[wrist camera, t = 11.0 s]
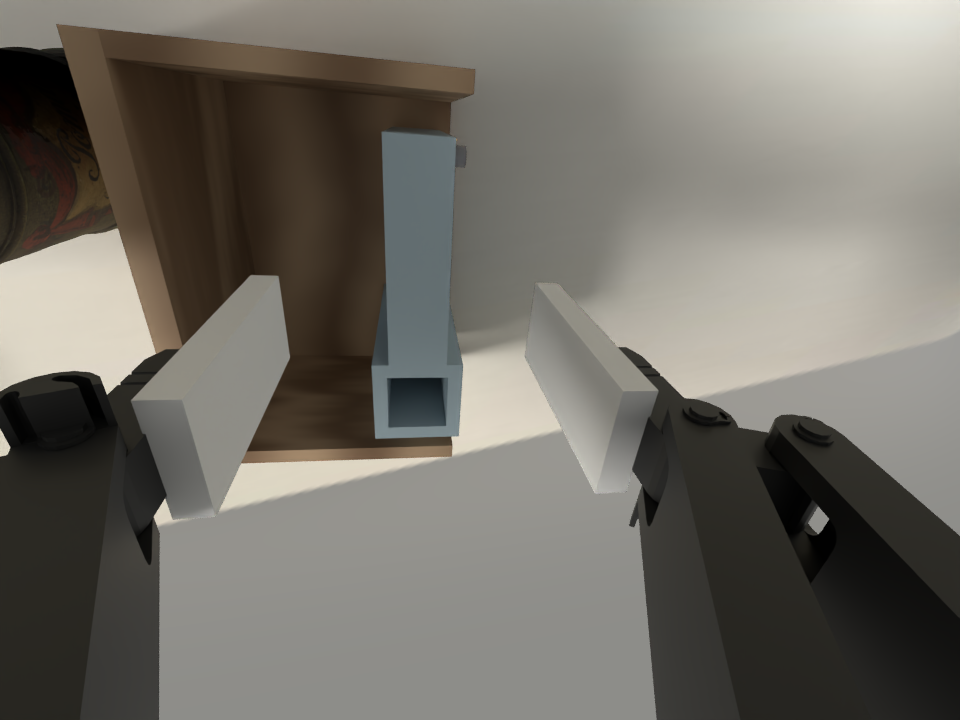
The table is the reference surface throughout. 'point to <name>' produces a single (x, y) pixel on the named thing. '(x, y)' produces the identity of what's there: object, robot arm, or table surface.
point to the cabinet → (262, 205)
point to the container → (45, 156)
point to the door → (417, 289)
